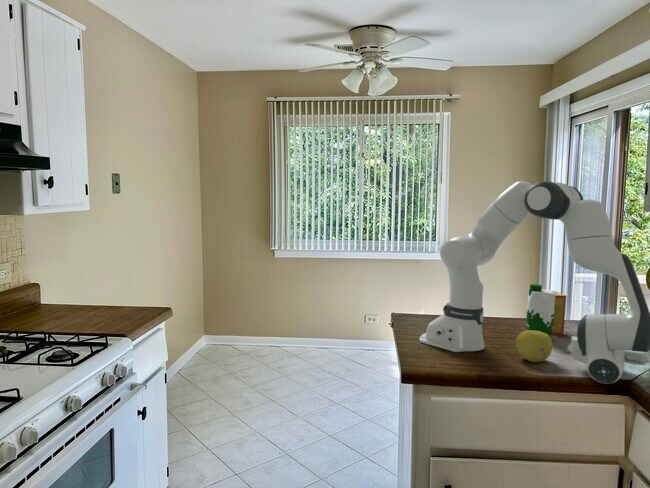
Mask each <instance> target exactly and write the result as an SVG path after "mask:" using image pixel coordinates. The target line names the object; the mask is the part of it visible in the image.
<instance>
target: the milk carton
mask: <svg viewBox="0 0 650 488" xmlns="http://www.w3.org/2000/svg"><path fill="white" fill-rule="evenodd" d="M527 289H528V290H527V304H526V317H525V318H526V320H525V331H526V330H534V331H540V332H543V333H546V334H547V335H549V336H550V338H551V339H552V336H553V335H552V329H553V319H554V306H555V293H554V292H552V291H553V290H551V289H543V285H541V284H538V283H536V284H535V283H531V284H530V285H529V288H527Z"/></svg>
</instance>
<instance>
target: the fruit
mask: <svg viewBox="0 0 650 488" xmlns="http://www.w3.org/2000/svg"><path fill="white" fill-rule="evenodd" d="M515 347H516V348H515V349H516V350H517V353H518V354H519V355H520V356H521V357H522V358H524V359H525V360H526V361H528V362H531V363H541V362H545V360H547V359H548V357H549V356H550V355H551V354H552V349H553V340H552V337H551V338H550V336H549V335H547V334H546V333H543V332H540V331H534V330H526V329H525V330H523V331H522V332H520V333H519V335H518V336H517V337H516V340H515Z"/></svg>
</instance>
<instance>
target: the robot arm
mask: <svg viewBox="0 0 650 488" xmlns="http://www.w3.org/2000/svg"><path fill="white" fill-rule="evenodd" d="M531 215H533V216H535V217H537V218H540V219H541V218H542V219H546V220H551V221H552V220H554V221H555V220H559V221H560V222H561V223H563V226H564V228H565V232H566V241H567V249H568V252H569V257H570V259H571V260H572V261H573V263H575V264H576V265H577V266H578V267H581V268H583V269H585V270H588V271H593V272H596V273H599V274H600V273H601V274H604V275H608V276H610V277H613V278H615V279H616V280H617V281H618V282H620V283H621V286H622V288H623V291H624V294H625V297H626V300H627V303H628V305H629V308H630V309H629V310H630V312H627V313H610V314H609V313H607V314H605V313H599V314H598V313H597V314H596V313H594V314H591V313H590V314H585V315H583V316H582V317H581V319H580V320H579V322H578V325H577V329H576V334H577V335H575V336H574V335H572V336H571V339H570V345H571V348H570V350H571V351H570V353H571V354H572V359H573V360H574V361H577V362H580V363H584V364H586V370H587V372H588V375H589V376H590V377H591V378H592V379H593V380H594V381H596V382H598V383H600V384H607V385H608V384H609V385H610V384H614V383H616V382H617V381H619V379H621V378H622V376H623V374H624V372H625V371H624V370H625V363H627V364H630V365H631V364H632V365H638V366H645V365H646V364H650V355H649V352H650V310H649V307H648V303H647V301H646V297H645V295H644V293H643V289H642V286H641V283H640V281H639V277H638V275H637V273H636V271H635V268H634V266H633V263H632V260H631V259H630V258H629V256H628V255H627V254H626V253H622V252H620V251H619V250H618V248H617V247H616V244H615V243H614V239H613V234H612V228H611V224H610V220H609V216H608V214H607V211H606V208H605V206H604V204H603V203H602V202H601V201H598V200H594V199H584V197H583V195H582V193H581V192H580V191H579V190H578V188H577V187H574V186H572V185H568V184H566V183H563V182H555V181H550V180H542V181H539V182H536V183H533V184H532V183H531V182H528V181H525V180H520V181H517V182H516V181H515V182H514V183H513V184H511V185H510V186H509V187H508V188H506V189H505V190H504V191H503V192H502V193H501V194H499V195H498V196H497V197H496V198H495V199H494V200H493V201H492V202H491V204H490V205H489V206H488V207H487V208H486V209H485V210H483V212H482V213H481V214H480V215H479V216H478V218H477V223H476V225H475V227H474V228H473V230H472V231H471V232H470V233H469V234H466V235H461V236H454V237H452V238H450V239H448V240H446V241H445V242H444V243H443V244H442V245H441V246H440V250H439V256H440V259H441V261H442V263H443V264H444V265H445V267H446V269H447V273H448V279H449V302H448V303H446V304H445V305H444V306H443V307H442V312H443V314H441V315H440V316H438V317H436V318H435V319H434V320H432V321H430V322H429V324H428V325H427V328H426V332H424V333H422V334H421V335H420V337H419V342H420V343H422V344H425V345H429V346H433V347H437V348H440V349H444V350H447V351H451V352H454V353H460V352H478V351H482V350H484V349H485V348H486V347H485V342H484V336H483V335H484V334H483V325H482V324H483V322H484V307H483V297H484V285H483V282H482V281H481V280H480V276H479V271H478V267H479V266H484V265H485V264H487V263H489V262H490V261H491V260H493V258H495V255H496V252H497V251H498V249H499V248H500V246H501V245H502V244H503V242H504V241H505V240H506V238H508V237H509V235H511V234H512V233H513V232H514V231H515V230H516V228H518V227H519V226H520V225H521V224H522V223H523V222H524V221H525V220H526V218H528V217H529V216H531Z"/></svg>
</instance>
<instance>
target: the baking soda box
mask: <svg viewBox="0 0 650 488" xmlns="http://www.w3.org/2000/svg"><path fill="white" fill-rule="evenodd" d="M551 291H552V292H554V293H555V306H554V319H553V329H552V336H564V332H565V322H566V308H567V307H566V305H567V295H565V294H563V293H560V292H558V291H555V290H551Z"/></svg>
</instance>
